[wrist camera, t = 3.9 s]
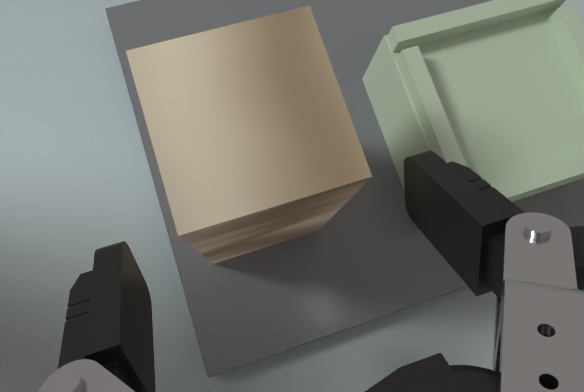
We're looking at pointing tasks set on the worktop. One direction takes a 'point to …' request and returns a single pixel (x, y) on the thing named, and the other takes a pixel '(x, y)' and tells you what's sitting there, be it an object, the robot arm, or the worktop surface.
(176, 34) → the grey flat plate
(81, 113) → the worktop surface
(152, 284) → the worktop surface
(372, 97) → the green plinth
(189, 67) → the birch pillar
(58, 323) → the worktop surface
